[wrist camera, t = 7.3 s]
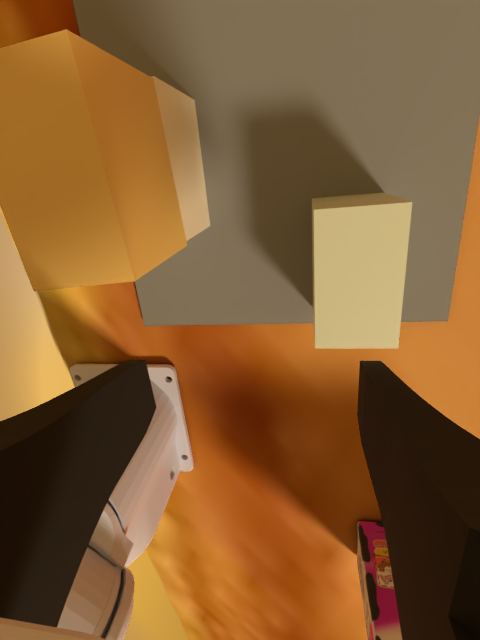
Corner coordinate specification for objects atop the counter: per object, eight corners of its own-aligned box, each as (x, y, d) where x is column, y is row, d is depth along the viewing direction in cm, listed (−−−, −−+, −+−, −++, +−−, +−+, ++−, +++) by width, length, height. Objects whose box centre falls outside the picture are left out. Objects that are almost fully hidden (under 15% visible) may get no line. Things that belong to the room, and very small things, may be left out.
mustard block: (187, 245, 15) (135, 281, 10) (113, 254, 15) (33, 291, 11) (153, 78, 12) (66, 29, 8) (68, 98, 13) (-56, 63, 9)
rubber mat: (445, 318, 19) (447, 321, 19) (147, 323, 23) (144, 325, 23) (514, -145, 12) (521, -154, 12) (68, -36, 16) (63, -40, 16)
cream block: (210, 225, 19) (181, 244, 15) (151, 230, 20) (106, 249, 15) (194, 99, 17) (154, 76, 12) (128, 109, 18) (67, 90, 13)
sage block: (376, 305, 19) (398, 348, 15) (312, 307, 20) (314, 348, 16) (384, 192, 17) (412, 202, 13) (311, 198, 18) (313, 209, 13)
